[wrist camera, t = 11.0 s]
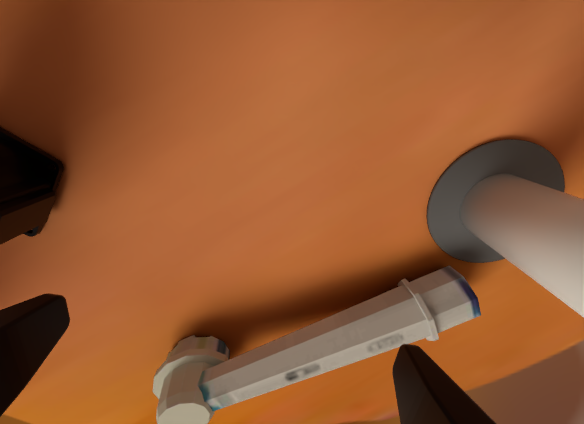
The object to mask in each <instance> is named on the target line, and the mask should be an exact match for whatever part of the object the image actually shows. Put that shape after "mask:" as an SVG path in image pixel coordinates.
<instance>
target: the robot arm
mask: <svg viewBox="0 0 584 424" xmlns="http://www.w3.org/2000/svg"><path fill="white" fill-rule="evenodd" d="M52 164H53V165H54V166H55V169H54V168H53V166H52ZM63 170H64V166H63V164H62V162H61V161H60V160H58V159H56V158H55V157H53V156H51V155H49V154H47V153H46V152H44V151H42V150H40V149H39V148H37V147H35V146H33V145H31V144H30V143H28V142H26V141H24V140H22V139H21V138H19V137H17V136H15V135H13V134H12V133H10V132H8V131H6V130H5V129H3V128H1V127H0V244H2V243H5V242H7V241H9V240H11V239H13V238H15V237H17V236H19V235H21V234H25V235H27V236H35V235H37V234H39V233H40V232H41V230H42V227H43V224H44V223H45V222H47V219H48V217H49V214H50V211H51V209H52V206H53V203H54V201H55V198H56V189H57V186H58V184H59V181H60V178H61V176H62V173H63ZM31 229H32V230H31ZM69 322H70V317H69V312H68V308H67V303H66V299H65V298H64V296H62V295H56V294H43V295H40V296H37V297H35V298H32V299H29V300H27V301H24V302H21V303H19V304H16V305H13V306H10V307H8V308H5V309H2V310H0V417H1V415H2V414H3V413H4V412H5V411H6V409H7V408H8V407H9V406H10V405H11V404H12V402H13V401H14V400H15V399H16V398H17V396H18V395H19V394H20V393H21V391H22V390H23V389H24V388H25V386H26V385H27V384H28V382H29V381H30V380H31V378H32V377H33V376H34V374H35V373H36V372H37V370H38V369H39V367H40V366H41V365H42V363H43V362H44V360H45V359H46V358H47V356H48V355H49V353H50V352H51V351H52V349H53V348H54V346H55V345H56V344H57V342H58V341H59V339H60V338H61V337H62V335H63V334H64V332H65V331H66V329H67V328H68V326H69ZM393 379H394V385H395V392H396V398H397V404H398V410H399V416H400V422H401V424H496V423H495V422H494V421H493V420H492V419H491V418H490V417H489V416H488V415H487V414H486V413H485V412H484V411H483V410H482V409H481V408H480V407H479V406H478V405H477V404H476V403H475V402H474V401H473V400H472V399H471V398H470V397H469V396H468V395H467V394H466V393H465V392H464V391H463V390H462V389H461V388H460V387H459V386H458V385H457V384H456V383H455V382H454V381H453V380H452V379H451V378H450V377H449V376H448V375H447V374H446V373H445V372H444V371H443V370H442V369H441V368H440V367H439V366H438V365H437V364H436V363H435V362H434V361H433V360H432V359H431V358H430V357H429V356H428V355H427V354H426V353H425V352H424V351H423V350H422V349H421V348H420V347H418V346H416V345H410V344H402V345H401V346H400V348H399V351H398V354H397V357H396V359H395V362H394V365H393Z"/></svg>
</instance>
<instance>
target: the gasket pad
mask: <svg viewBox="0 0 584 424" xmlns="http://www.w3.org/2000/svg"><path fill="white" fill-rule="evenodd" d="M497 174H511V175H514V176H517V177H520V178H523V179H526V180H529V181H532V182H535V183H538V184H540V185H543V186H546V187H549V188H552V189H555V190H558V191H561V192H564V188H565V184H564V176H563V171H562V169H561V167H560V164H559V163H558V161H557V160H556V158H555V157H554V156H553V155H552V154H551V153H550V152H549V151H548V150H546V149H545V148H544V147H542V146H539V145H537V144H535V143H532V142H528V141H523V140H516V139H505V140H497V141H493V142H489V143H486V144H483V145H480V146H478V147H476V148H474V149H472V150H470V151H468V152H467V153H465V154H464V155H462V156H460V157H459V158H458V159H457V160H456V161H454V162H453V163H452V164H451V165H450V166H449V167H448V168H447V169H446V170H445V171H444V173H443V174H442V175H441V176H440V178H439V179H438V181H437V183H436V184H435V186H434V188H433V190H432V192H431V195H430V198H429V201H428V206H427V224H428V228H429V231H430V234H431V236H432V238H433V239H434V241H435V242H436V243H437V245H438V246H439V247H440V248H441V249H442V250H443V251H445V252H446V253H447V254H449V255H451V256H452V257H454V258H457V259H459V260H463V261H467V262H474V263H484V262H492V261H497V260H501V259H504V257H503V256H502V255H500V254H499V253H498V252H496V251H495V250H494V249H492V248H491V247H490V246H488V245H487V244H486V243H484V242H483V241H482V240H480V239H479V238H478V237H476V236H475V235H474V234H472V233H471V232H470V231H469V230H467V229H466V228H465V226H464V225H463V223H462V220H461V216H460V210H461V205H462V202H463V200H464V198H465V196H466V194H467V193H468V192H469V190H470V189H471V188H472V187H473V186H474V185H476V184H477V183H478V182H480V181H481V180H483V179H485V178H487V177H489V176H493V175H497Z"/></svg>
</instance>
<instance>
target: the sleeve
mask: <svg viewBox="0 0 584 424" xmlns="http://www.w3.org/2000/svg"><path fill="white" fill-rule="evenodd" d="M460 216H461V220H462V223H463V225H464V226H465V228H466V229H467V230H469V231H470V232H471V233H472V234H474V235H475V236H476V237H478V238H479V239H480V240H482V241H483V242H484V243H486V244H487V245H488V246H490V247H491V248H492V249H494V250H495V251H496V252H498V253H499V254H500V255H502V256H503V257H504V258H506V259H507V260H508V261H510V262H511V263H512V264H514V265H515V266H516V267H518V268H519V269H520V270H522V271H523V272H524V273H526V274H527V275H528V276H529V277H531V278H532V279H533V280H535V281H536V282H537V283H539V284H540V285H541V286H543V287H544V288H545V289H547V290H548V291H549V292H551V293H552V294H553V295H555V296H556V297H557V298H559V299H560V300H561V301H563V302H564V303H565V304H567V305H568V306H569V307H571V308H572V309H573V310H575V311H576V312H577V313H579V314H580V315H581V316H583V317H584V199H581V198H578V197H575V196H572V195H569V194H566V193H564V192H561V191H558V190H555V189H552V188H549V187H546V186H543V185H540V184H538V183H535V182H532V181H529V180H526V179H523V178H520V177H517V176H514V175H511V174H497V175H493V176H489V177H487V178H485V179H483V180H481V181H480V182H478V183H477V184H476V185H474V186H473V187H472V188H471V189H470V190H469V192H468V193H467V194H466V196H465V198H464V200H463V202H462V205H461V210H460Z"/></svg>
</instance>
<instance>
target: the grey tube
mask: <svg viewBox="0 0 584 424" xmlns="http://www.w3.org/2000/svg"><path fill="white" fill-rule="evenodd" d="M480 315H481V312H480V307H479V302H478V298H477V296H476V295H475V293H474V292H473V290H472V289H471V287H470V286H469V284H468V282H467V281H466V279H465V278H464V276H462V275H461V274H460V273H458V272H457V271H456V270H454V269H453V268H452V267H451V266H447V267H444V268H442V269H440V270H437V271H435V272H432V273H430V274H428V275H425V276H423V277H420V278H418V279H416V280H413V281H411V282H408V281H407V280H406V279H403V280H401V281H400V282H399V283H398V287H397V288H394V289H392V290H390V291H387V292H385V293H383V294H380V295H378V296H376V297H374V298H371V299H369V300H367V301H364V302H362V303H360V304H357V305H355V306H353V307H350V308H348V309H346V310H343V311H341V312H339V313H336V314H334V315H332V316H329V317H327V318H325V319H323V320H320V321H318V322H316V323H313V324H311V325H309V326H306V327H304V328H302V329H299V330H297V331H295V332H292V333H290V334H288V335H285V336H283V337H281V338H278V339H276V340H274V341H272V342H269V343H267V344H265V345H262V346H260V347H258V348H255V349H253V350H251V351H248V352H246V353H244V354H241V355H239V356H237V357H234V358H232V359H230V360H229V355H230V351H229V349H228V348H227V346H226V344H225V343H224V342H223V341H221V340H219V339H217V338H215V337H213V336H210V337H196V336H195V335H193V336H190V337H188V338H185V339H183V340H181V341H179V343H178V345H177V346H176V347H175V348H174V349H173V350H172V351H171V352H169V354H168V357H167V359H166V361H165V362H164V363H163V364H162V365H161V366H160V368H159V369H158V370H157V371H156V374H155V376H154V383H153V393H154V394H155V395H156V396H157V397H158V399H159V403H158V407H157V415H156V420H157V424H207V423H208V422H209V421H210V419H211V418H212V416H213V414H214V412H215V410H218V409H221V408H224V407H227V406H230V405H233V404H235V403H238V402H241V401H244V400H247V399H250V398H253V397H256V396H259V395H261V394H264V393H267V392H270V391H273V390H276V389H279V388H282V387H285V386H287V385H290V384H293V383H296V382H299V381H302V380H305V379H308V378H311V377H314V376H316V375H319V374H322V373H325V372H328V371H331V370H334V369H337V368H340V367H342V366H345V365H348V364H351V363H354V362H357V361H360V360H363V359H366V358H368V357H371V356H374V355H377V354H380V353H383V352H386V351H389V350H392V349H394V348H397V347H400V346H401V345H402V344H409V343H412V342H415V341H418V340H421V339H423V338H426V339H427V340H430V341H435V340H438V339H439V337H438V334H437V333H439V332H442V331H444V330H446V329H449V328H451V327H454V326H456V325H458V324H461V323H463V322H466V321H468V320H471V319H473V318H475V317H478V316H480Z"/></svg>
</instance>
